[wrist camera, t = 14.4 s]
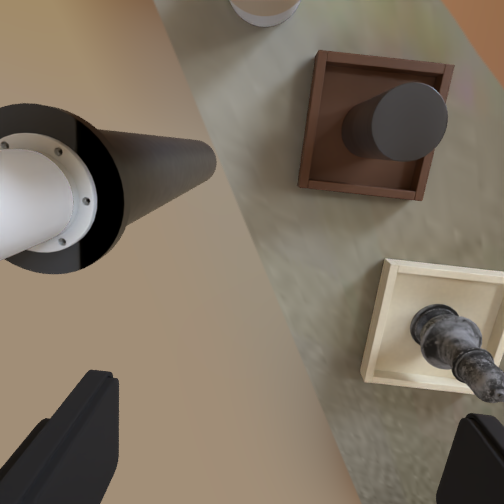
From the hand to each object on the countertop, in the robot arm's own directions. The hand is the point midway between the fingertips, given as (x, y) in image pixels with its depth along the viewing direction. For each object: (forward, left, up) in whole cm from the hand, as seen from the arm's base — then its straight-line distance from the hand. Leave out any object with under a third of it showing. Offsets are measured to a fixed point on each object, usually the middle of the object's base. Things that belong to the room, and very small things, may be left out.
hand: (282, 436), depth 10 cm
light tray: (+19, -9, -28) cm, 35 cm away
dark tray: (+8, +10, -28) cm, 31 cm away
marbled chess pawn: (+19, -9, -28) cm, 35 cm away
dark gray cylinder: (+8, +10, -28) cm, 31 cm away
